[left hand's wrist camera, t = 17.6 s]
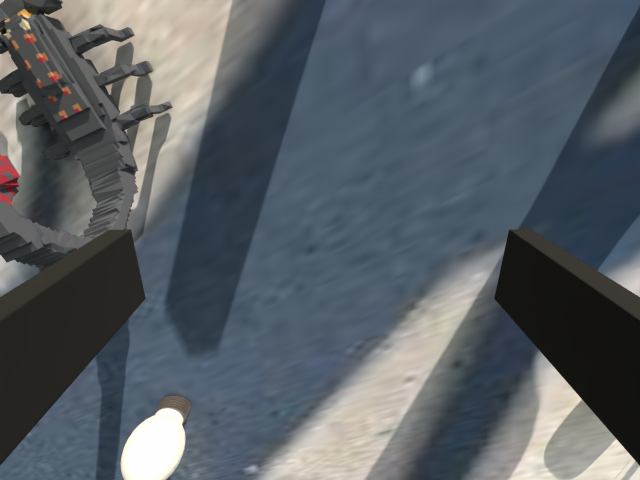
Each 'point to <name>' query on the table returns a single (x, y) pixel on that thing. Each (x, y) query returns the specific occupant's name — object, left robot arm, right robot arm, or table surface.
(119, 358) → the table surface
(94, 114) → the toy
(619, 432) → the left robot arm
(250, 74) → the table surface
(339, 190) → the table surface
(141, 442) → the light bulb
